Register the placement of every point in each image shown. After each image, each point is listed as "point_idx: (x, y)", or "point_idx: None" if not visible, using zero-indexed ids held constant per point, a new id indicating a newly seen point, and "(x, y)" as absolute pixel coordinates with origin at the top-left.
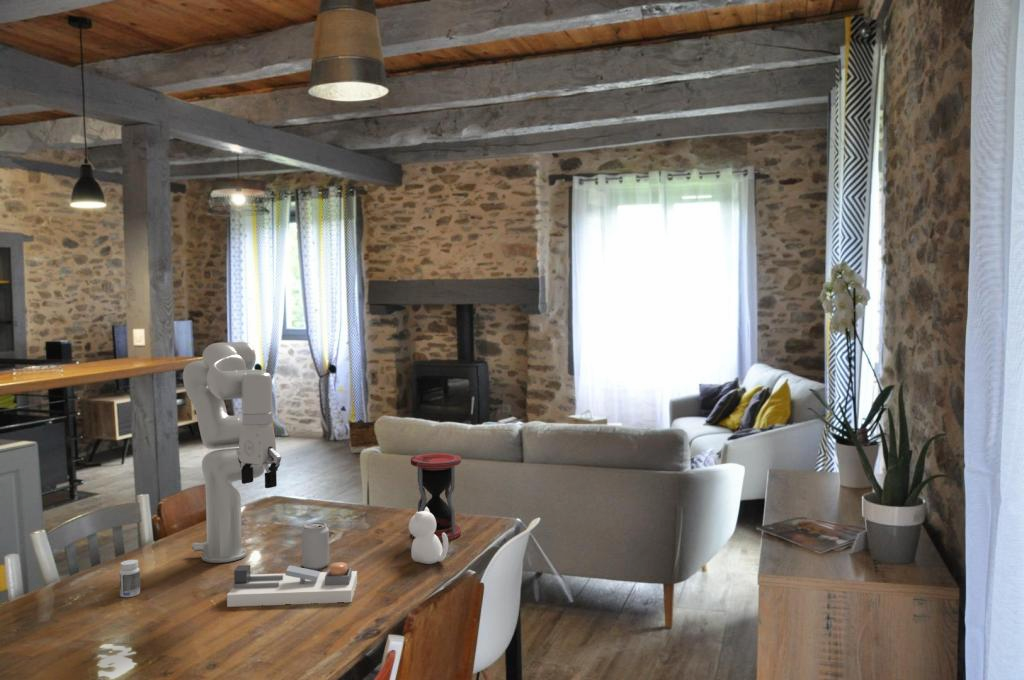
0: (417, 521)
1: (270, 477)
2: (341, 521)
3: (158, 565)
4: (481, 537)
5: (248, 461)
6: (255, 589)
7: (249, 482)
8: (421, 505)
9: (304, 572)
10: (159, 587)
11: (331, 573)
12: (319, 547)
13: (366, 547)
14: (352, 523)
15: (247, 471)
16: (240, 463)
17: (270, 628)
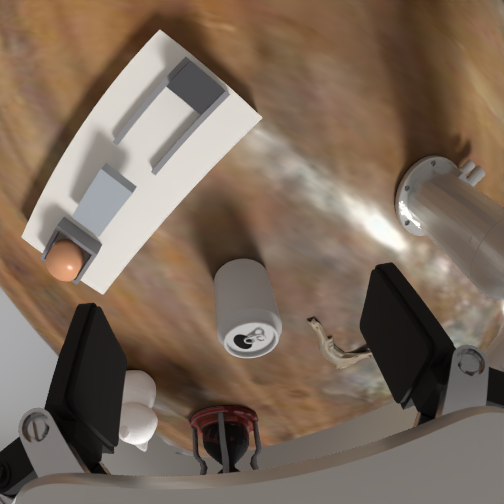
0: (121, 424)
1: (51, 383)
2: (374, 377)
3: (479, 100)
4: (174, 433)
5: (301, 497)
6: (139, 92)
7: (368, 305)
8: (225, 450)
9: (91, 203)
10: (390, 16)
11: (60, 242)
12: (217, 303)
13: (254, 363)
14: (355, 383)
15: (404, 358)
16: (495, 374)
17: (14, 67)
